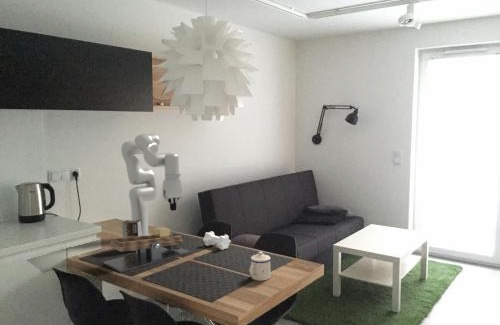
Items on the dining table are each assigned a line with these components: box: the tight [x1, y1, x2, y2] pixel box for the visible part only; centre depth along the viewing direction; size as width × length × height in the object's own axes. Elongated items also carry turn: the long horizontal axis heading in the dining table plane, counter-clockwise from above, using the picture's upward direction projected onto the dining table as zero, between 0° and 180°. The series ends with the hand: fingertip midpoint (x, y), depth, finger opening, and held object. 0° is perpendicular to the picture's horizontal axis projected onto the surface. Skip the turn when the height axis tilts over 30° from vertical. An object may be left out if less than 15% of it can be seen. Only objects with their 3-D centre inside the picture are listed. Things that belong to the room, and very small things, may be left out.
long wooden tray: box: [109, 232, 184, 253], centre depth 210 cm, size 36×12×7 cm, turn 134°
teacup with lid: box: [249, 251, 272, 282], centre depth 181 cm, size 12×9×12 cm
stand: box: [103, 241, 191, 274], centre depth 210 cm, size 19×40×10 cm, turn 134°
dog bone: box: [202, 231, 232, 251], centre depth 228 cm, size 15×9×8 cm, turn 48°
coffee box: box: [121, 219, 142, 252], centre depth 226 cm, size 9×6×16 cm
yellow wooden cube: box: [153, 226, 171, 239], centre depth 216 cm, size 6×6×6 cm
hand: (173, 210), depth 220 cm, fingers closed
